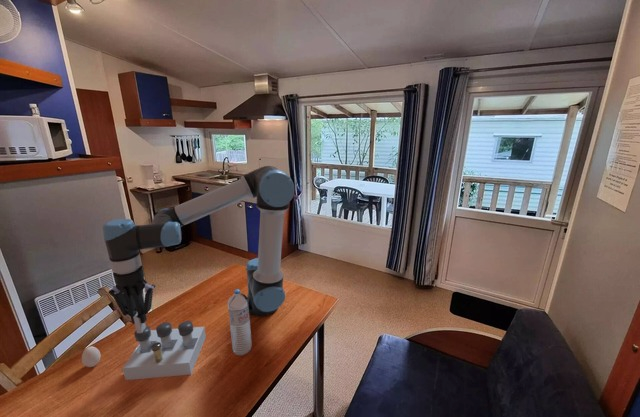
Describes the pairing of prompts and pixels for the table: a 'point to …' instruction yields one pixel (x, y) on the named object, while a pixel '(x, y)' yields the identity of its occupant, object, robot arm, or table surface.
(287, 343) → the table surface
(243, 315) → the water bottle
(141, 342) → the knob
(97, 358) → the egg
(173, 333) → the console
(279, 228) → the robot arm
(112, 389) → the table surface
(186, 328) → the knob
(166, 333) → the knob mid
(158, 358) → the pot stem
